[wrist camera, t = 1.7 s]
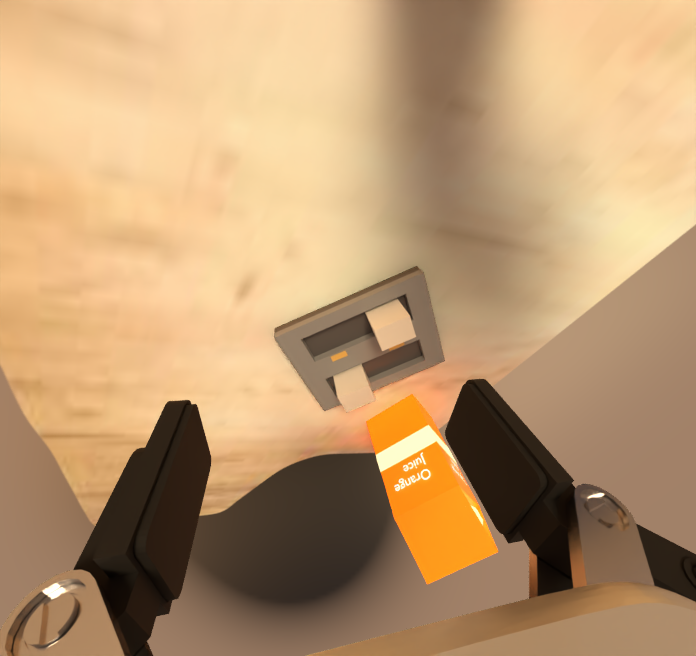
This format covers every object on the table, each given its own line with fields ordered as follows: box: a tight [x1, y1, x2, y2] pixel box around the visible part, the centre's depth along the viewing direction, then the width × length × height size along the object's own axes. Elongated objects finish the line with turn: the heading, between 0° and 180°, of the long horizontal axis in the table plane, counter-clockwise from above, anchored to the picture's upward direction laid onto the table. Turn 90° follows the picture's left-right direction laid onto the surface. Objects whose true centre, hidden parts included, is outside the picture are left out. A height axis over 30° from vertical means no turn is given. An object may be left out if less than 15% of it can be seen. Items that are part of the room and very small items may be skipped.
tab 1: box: [333, 364, 376, 412], centre depth 36 cm, size 4×3×4 cm
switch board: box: [274, 266, 445, 411], centre depth 36 cm, size 18×14×2 cm
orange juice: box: [366, 394, 498, 584], centre depth 39 cm, size 8×9×20 cm
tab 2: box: [365, 298, 416, 351], centre depth 32 cm, size 4×3×4 cm
